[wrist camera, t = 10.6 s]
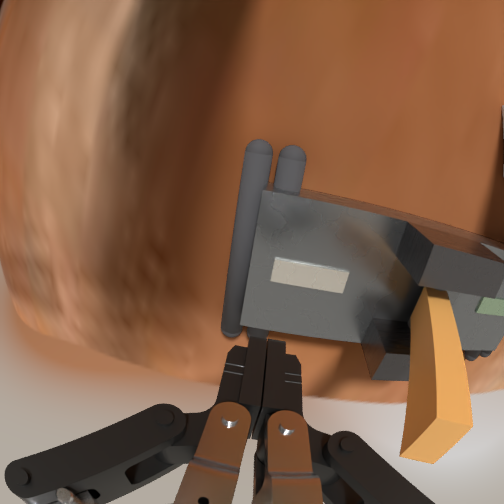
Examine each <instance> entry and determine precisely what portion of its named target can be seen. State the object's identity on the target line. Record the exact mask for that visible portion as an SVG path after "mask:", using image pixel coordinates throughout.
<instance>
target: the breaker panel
mask: <svg viewBox="0 0 504 504" xmlns="http://www.w3.org/2000/svg"><path fill="white" fill-rule="evenodd" d="M424 287H430V288H435V289H441V290H445V291H447V293H448V296H449V300H450V303H451V307H452V310H453V314H454V318H455V321H456V325H457V329H458V334H459V338H460V342H461V347H462V350H495V349H496V348H497V346H498V344H499V343H500V341H501V339H502V338H503V336H504V243H501V242H498V241H495V240H492V239H490V238H487V237H484V236H481V235H478V234H475V233H472V232H469V231H466V230H462V229H459V228H456V227H453V226H450V225H446V224H443V223H440V222H436V221H433V220H430V219H426V218H423V217H419V216H416V215H412V214H408V213H405V212H401V211H397V210H393V209H389V208H386V207H382V206H378V205H374V204H370V203H365V202H361V201H357V200H353V199H348V198H344V197H340V196H335V195H331V194H326V193H321V192H316V191H312V190H307V189H302V188H301V190H300V191H299V192H293V191H287V190H282V189H279V188H276V187H274V183H270V182H268V185H264V188H263V191H262V197H261V203H260V209H259V215H258V221H257V227H256V232H255V238H254V244H253V250H252V256H251V262H250V268H249V274H248V280H247V286H246V291H245V297H244V303H243V309H242V315H241V321H240V325H242V326H248V327H253V328H259V329H265V330H271V331H277V332H283V333H289V334H296V335H302V336H309V337H316V338H324V339H331V340H339V341H348V342H356V343H361V345H362V348H363V352H364V355H365V359H366V362H367V366H368V369H369V373H370V377H371V380H391V381H409V370H410V342H411V329H410V328H409V327H408V324H407V323H408V321H409V319H410V316H411V314H412V312H413V310H414V308H415V306H416V304H417V301H418V299H419V297H420V295H421V292H422V290H423V288H424Z"/></svg>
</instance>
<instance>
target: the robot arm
mask: <svg viewBox="0 0 504 504" xmlns="http://www.w3.org/2000/svg"><path fill="white" fill-rule="evenodd" d="M301 383H302V379H301V364H300V362H299V360H298V359H297V357H296V355H290V354H286V342H285V341H278V340H272V339H268V341H267V339H266V338H260V337H254V336H250V337H249V342H248V347H241V346H236V345H235V346H234V347H233V348H232V349H231V350H230V351H229V352H228V355H227V359H226V363H225V367H224V372H223V375H222V379H221V383H220V387H219V392H218V396H217V399H216V402H215V404H214V405H213V406H212V407H211V408H210V409H208V410H206V411H204V412H200V413H183V412H182V411H181V410H180V409H179V408H177V407H176V406H174V405H171V404H157V405H154V406H152V407H150V408H148V409H145V410H144V411H141V412H139V413H137V414H135V415H133V416H131V417H128V418H126V419H124V420H122V421H119V422H117V423H115V424H112V425H110V426H108V427H106V428H103V429H101V430H99V431H96V432H93V433H91V434H89V435H86V436H84V437H81V438H78V439H76V440H73V441H71V442H68V443H65V444H63V445H60V446H57V447H55V448H52V449H49V450H46V451H43V452H40V453H37V454H34V455H31V456H28V457H24V458H21V459H18V460H15V461H12V462H11V463H10V464H9V465H8V466H7V468H6V470H5V481H6V484H7V486H8V488H9V489H10V490H11V491H12V492H13V493H14V494H16V495H17V496H18V497H20V498H21V499H22V500H23V501H25V503H26V504H106V503H108V502H111V501H113V500H115V499H117V498H119V497H122V496H124V495H126V494H128V493H130V492H132V491H134V490H136V489H138V488H140V487H142V486H144V485H146V484H148V483H150V482H152V481H154V480H156V479H157V478H160V477H161V476H163V475H165V474H167V473H169V472H170V471H172V470H174V469H176V468H177V467H179V466H181V465H182V464H185V463H186V464H188V463H189V465H188V467H187V469H186V472H185V475H184V477H183V480H182V482H181V485H180V488H179V490H178V493H177V495H176V498H175V501H174V503H173V504H232V500H233V496H234V492H235V488H236V484H237V481H238V476H239V470H240V465H241V461H242V457H243V453H244V449H245V445H246V442H247V439H250V437H251V433H252V439H256V440H258V442H257V450H256V452H255V455H254V481H253V483H254V485H253V500H252V504H323V502H324V503H325V504H435V503H434V502H433V501H431V500H430V499H429V498H428V497H426V496H425V495H424V494H423V493H422V492H420V491H419V490H418V489H417V488H416V487H415V486H413V485H412V484H411V483H410V482H409V481H408V480H406V479H405V478H404V477H403V476H402V475H401V474H400V473H399V472H397V471H396V470H395V469H394V468H393V467H392V466H390V465H389V464H388V463H387V462H386V461H385V460H384V459H383V458H382V457H381V456H380V455H378V454H377V453H376V452H375V451H374V450H373V449H372V448H371V447H370V446H368V444H367V443H366V442H365V441H363V440H362V439H361V438H360V437H359V436H358V435H356V434H355V433H352V432H349V431H339V432H336V433H335V434H333V435H328V434H326V433H323V432H320V431H317V430H315V429H314V428H312V427H311V426H309V425H308V424H307V422H306V421H305V419H304V417H303V412H302V384H301Z"/></svg>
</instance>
